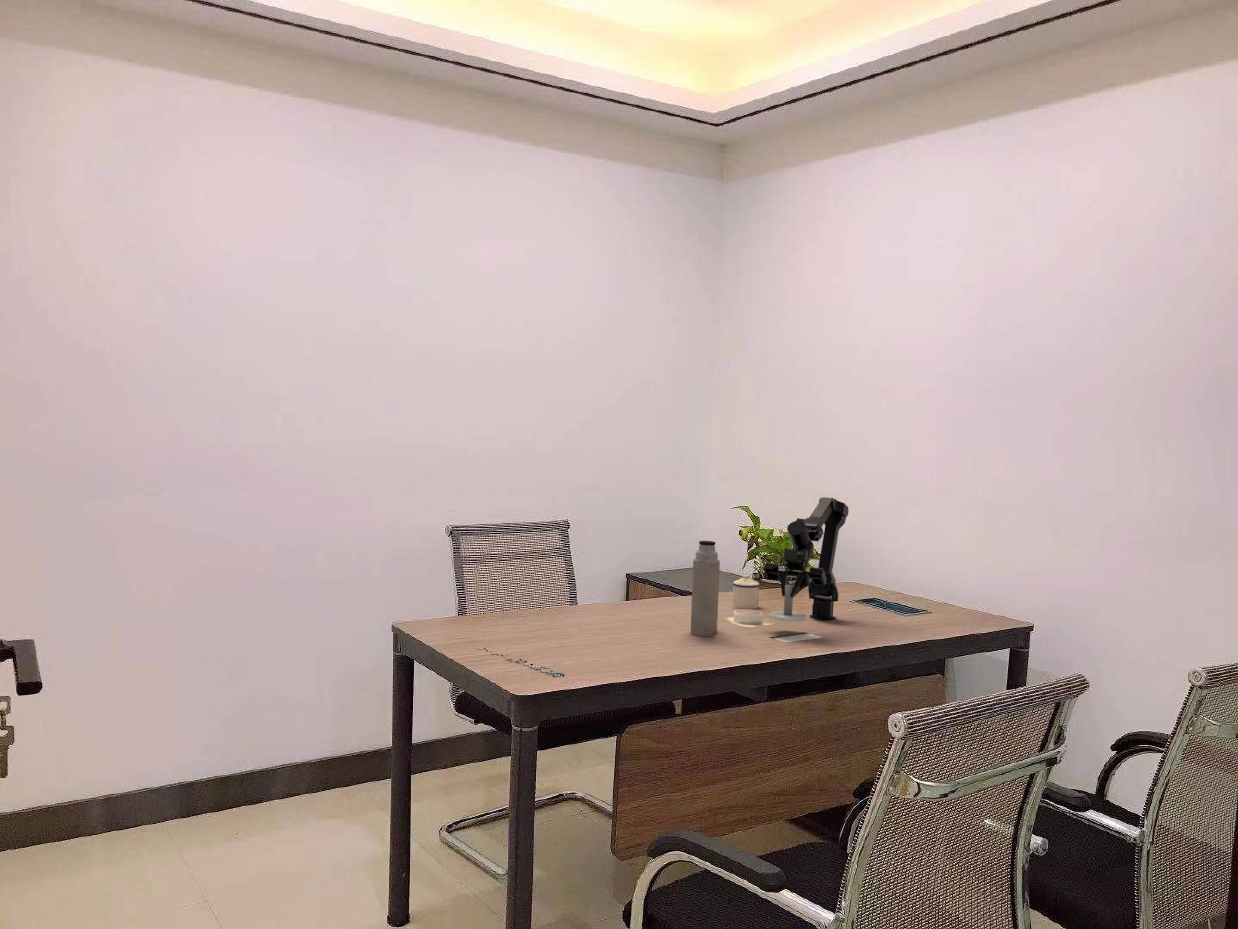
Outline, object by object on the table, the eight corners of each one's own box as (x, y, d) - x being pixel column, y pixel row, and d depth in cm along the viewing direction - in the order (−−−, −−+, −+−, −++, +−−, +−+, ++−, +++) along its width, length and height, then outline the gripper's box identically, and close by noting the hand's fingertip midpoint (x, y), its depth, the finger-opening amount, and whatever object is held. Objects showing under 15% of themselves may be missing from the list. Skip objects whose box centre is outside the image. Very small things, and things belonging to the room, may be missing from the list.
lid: (788, 612, 317) (789, 581, 316) (813, 619, 308) (815, 587, 307) (761, 615, 311) (763, 583, 310) (787, 622, 302) (788, 589, 301)
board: (749, 618, 334) (750, 615, 334) (779, 626, 323) (779, 623, 323) (716, 622, 327) (716, 619, 327) (745, 630, 315) (745, 627, 315)
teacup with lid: (763, 611, 348) (765, 577, 347) (740, 612, 344) (742, 578, 343) (744, 604, 358) (746, 571, 358) (722, 605, 354) (723, 572, 354)
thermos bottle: (694, 629, 315) (697, 538, 313) (719, 632, 312) (723, 540, 311) (687, 634, 307) (691, 541, 306) (713, 637, 305) (717, 543, 303)
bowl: (749, 617, 331) (749, 608, 331) (768, 622, 323) (768, 613, 323) (727, 619, 326) (728, 610, 326) (746, 625, 318) (746, 615, 318)
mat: (788, 628, 320) (788, 627, 320) (822, 638, 308) (822, 637, 308) (751, 633, 312) (751, 632, 312) (785, 643, 299) (785, 642, 299)
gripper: (766, 536, 316) (751, 576, 307) (825, 542, 307) (811, 583, 298) (774, 558, 323) (760, 598, 314) (832, 564, 314) (819, 606, 305)
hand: (787, 596), depth 308 cm, fingers closed on lid, 2 cm apart
